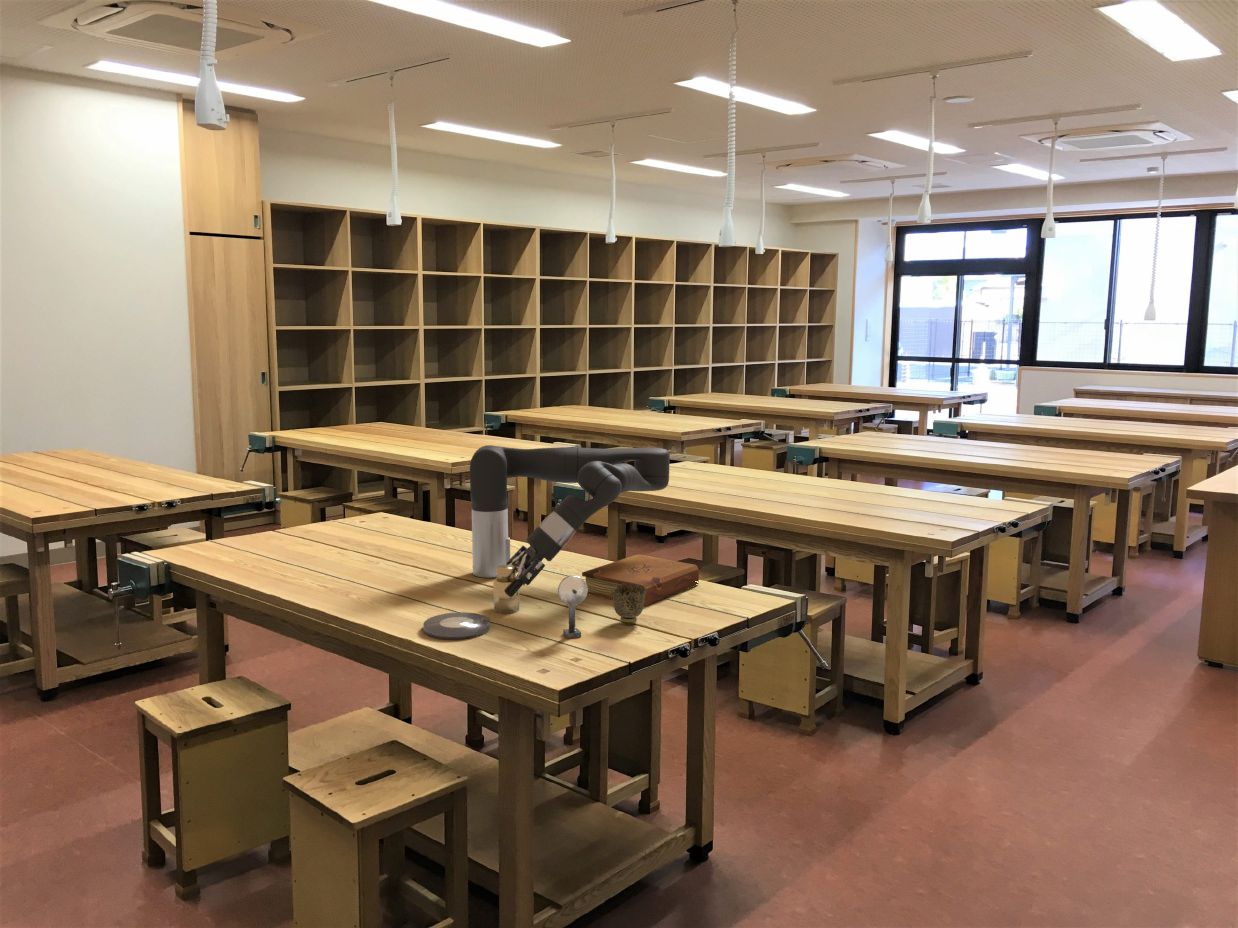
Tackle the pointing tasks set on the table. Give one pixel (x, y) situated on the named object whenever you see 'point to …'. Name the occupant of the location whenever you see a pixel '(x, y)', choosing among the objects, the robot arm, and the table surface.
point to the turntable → (456, 626)
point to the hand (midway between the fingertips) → (502, 589)
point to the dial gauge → (572, 600)
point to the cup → (628, 602)
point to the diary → (642, 577)
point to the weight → (503, 579)
